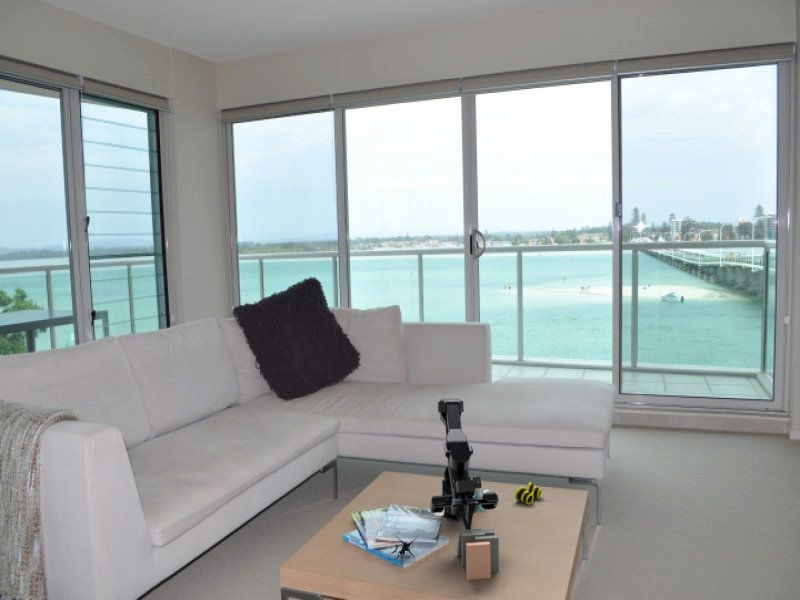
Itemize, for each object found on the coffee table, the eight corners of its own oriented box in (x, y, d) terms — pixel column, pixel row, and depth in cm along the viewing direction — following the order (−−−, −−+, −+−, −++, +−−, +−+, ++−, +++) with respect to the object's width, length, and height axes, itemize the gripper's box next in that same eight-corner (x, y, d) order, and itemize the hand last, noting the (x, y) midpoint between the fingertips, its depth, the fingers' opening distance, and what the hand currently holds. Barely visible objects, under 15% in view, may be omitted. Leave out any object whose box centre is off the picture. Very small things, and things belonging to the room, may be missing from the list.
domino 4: (475, 570, 172) (474, 536, 171) (497, 568, 172) (497, 535, 172) (476, 572, 170) (475, 539, 170) (498, 570, 171) (498, 537, 170)
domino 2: (456, 551, 181) (459, 530, 176) (478, 549, 182) (481, 528, 177) (457, 555, 180) (460, 534, 175) (479, 554, 180) (482, 533, 176)
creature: (412, 570, 175) (421, 551, 182) (410, 553, 173) (419, 534, 180) (385, 566, 177) (394, 547, 184) (383, 549, 176) (392, 531, 183)
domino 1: (469, 556, 178) (471, 530, 175) (491, 555, 179) (493, 529, 175) (470, 560, 177) (472, 534, 173) (492, 559, 177) (494, 532, 174)
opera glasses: (527, 508, 213) (529, 494, 212) (513, 501, 217) (515, 487, 215) (542, 499, 220) (544, 486, 219) (528, 493, 224) (530, 479, 223)
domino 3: (461, 564, 175) (461, 533, 173) (483, 562, 175) (483, 531, 174) (462, 567, 173) (462, 536, 172) (484, 565, 174) (485, 534, 172)
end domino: (466, 577, 168) (466, 543, 167) (489, 575, 169) (489, 541, 168) (467, 579, 167) (467, 545, 166) (490, 578, 167) (490, 544, 167)
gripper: (430, 468, 182) (437, 522, 172) (496, 464, 184) (507, 518, 173) (427, 485, 190) (433, 539, 180) (490, 482, 192) (500, 534, 182)
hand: (468, 532), depth 179 cm, fingers closed
